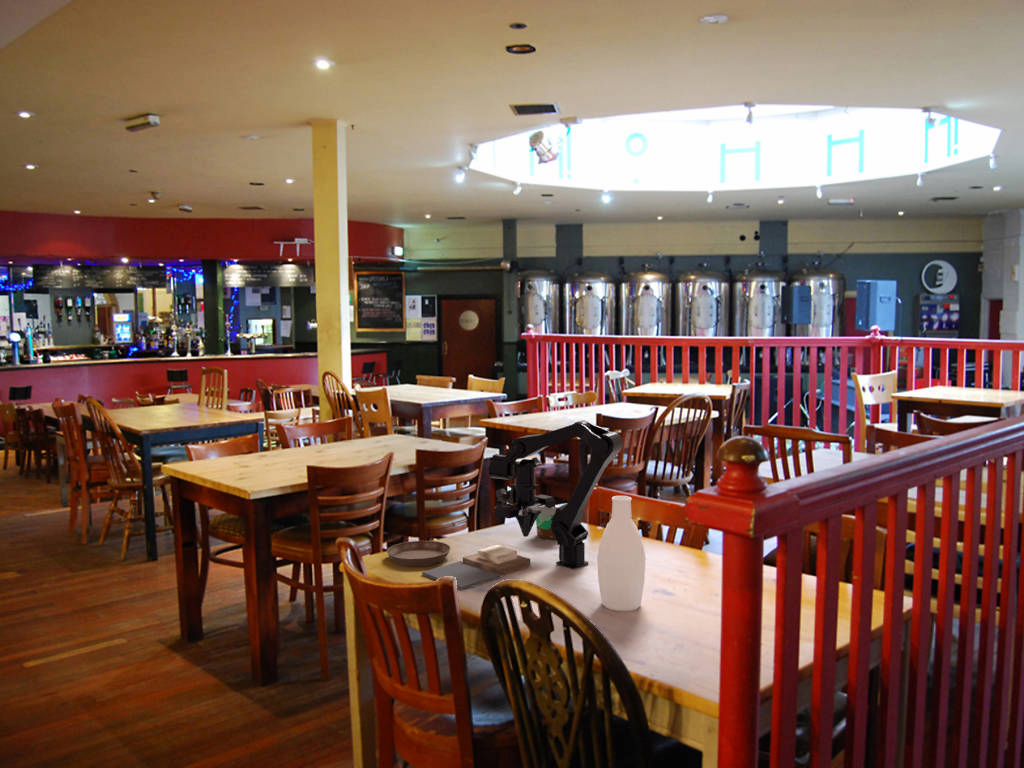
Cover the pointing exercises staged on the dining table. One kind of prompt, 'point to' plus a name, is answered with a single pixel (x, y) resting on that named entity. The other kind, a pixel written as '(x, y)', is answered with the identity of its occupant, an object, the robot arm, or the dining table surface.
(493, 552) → the coaster
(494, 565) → the serving board
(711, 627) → the dining table surface
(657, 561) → the dining table surface
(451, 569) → the bar mat
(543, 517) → the food container
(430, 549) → the plant saucer
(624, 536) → the bottle
